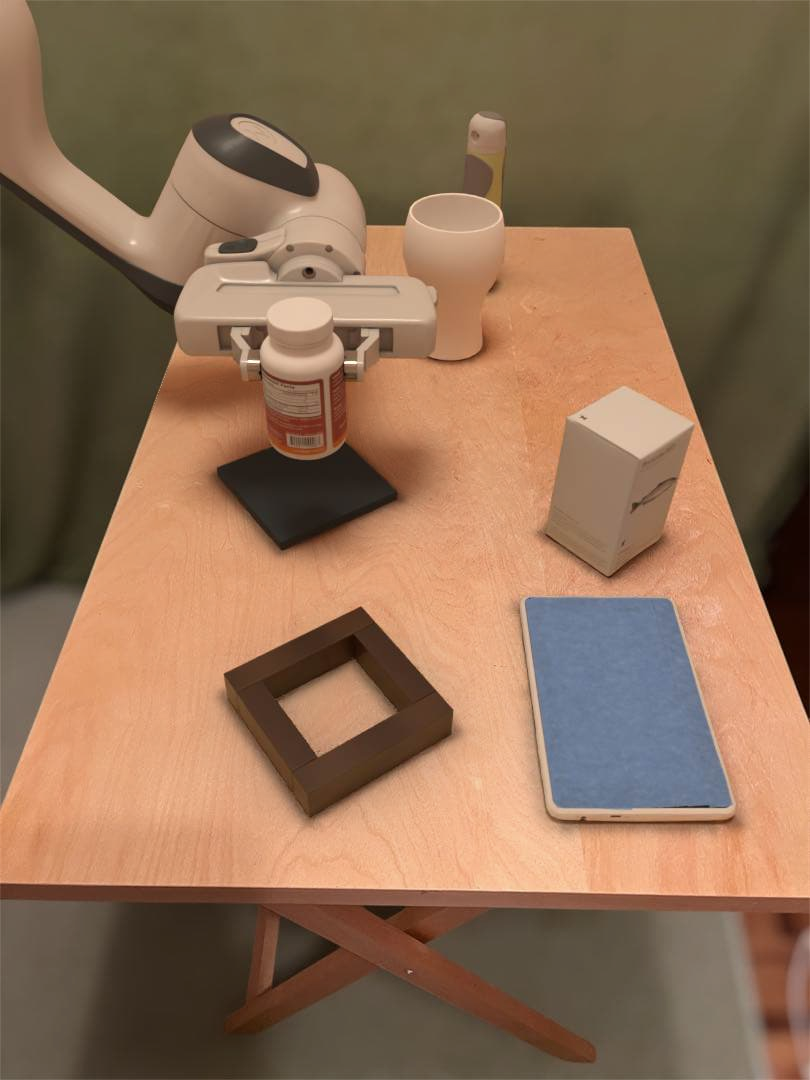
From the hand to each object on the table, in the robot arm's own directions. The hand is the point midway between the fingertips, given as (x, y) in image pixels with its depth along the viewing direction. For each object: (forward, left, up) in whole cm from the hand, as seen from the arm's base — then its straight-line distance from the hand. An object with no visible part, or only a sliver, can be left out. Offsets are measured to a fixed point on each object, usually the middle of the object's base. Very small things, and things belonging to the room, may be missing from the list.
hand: (301, 373), depth 67 cm
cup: (+29, +20, -17) cm, 39 cm away
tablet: (+10, -27, -17) cm, 33 cm away
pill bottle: (+1, +1, -7) cm, 7 cm away
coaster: (+3, +7, -17) cm, 18 cm away
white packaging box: (+21, -13, -17) cm, 30 cm away
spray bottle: (+40, +29, -17) cm, 52 cm away
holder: (-8, -16, -17) cm, 25 cm away
